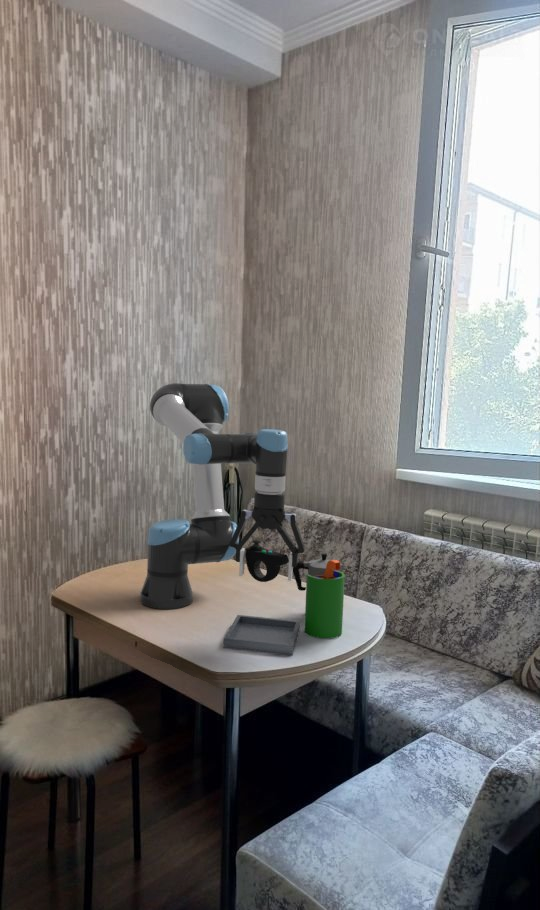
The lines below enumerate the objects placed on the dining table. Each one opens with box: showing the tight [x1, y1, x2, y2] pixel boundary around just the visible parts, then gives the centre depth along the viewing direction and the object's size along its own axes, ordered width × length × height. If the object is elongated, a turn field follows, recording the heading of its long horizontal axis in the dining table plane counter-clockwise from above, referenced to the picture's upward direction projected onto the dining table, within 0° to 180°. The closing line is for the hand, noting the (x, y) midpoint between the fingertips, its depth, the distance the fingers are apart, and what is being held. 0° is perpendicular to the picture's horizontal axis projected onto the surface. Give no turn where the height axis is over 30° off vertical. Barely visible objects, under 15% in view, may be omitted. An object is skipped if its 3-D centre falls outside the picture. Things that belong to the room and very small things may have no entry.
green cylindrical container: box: [304, 559, 346, 639], centre depth 181 cm, size 10×9×20 cm
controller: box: [244, 539, 289, 583], centre depth 173 cm, size 4×12×10 cm, turn 51°
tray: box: [223, 614, 301, 656], centre depth 176 cm, size 17×17×2 cm
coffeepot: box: [292, 553, 347, 592], centre depth 194 cm, size 15×9×18 cm, turn 101°
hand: (265, 576), depth 174 cm, fingers closed on controller, 12 cm apart
